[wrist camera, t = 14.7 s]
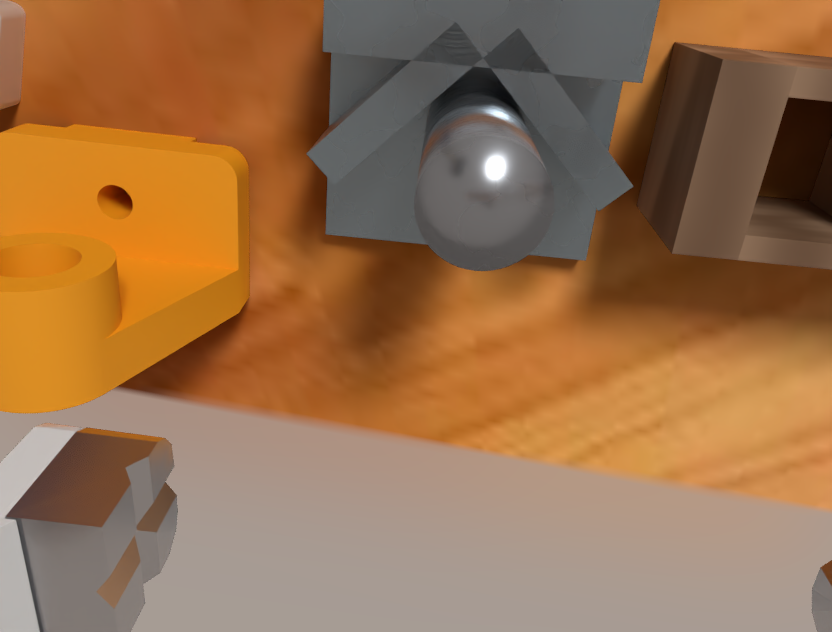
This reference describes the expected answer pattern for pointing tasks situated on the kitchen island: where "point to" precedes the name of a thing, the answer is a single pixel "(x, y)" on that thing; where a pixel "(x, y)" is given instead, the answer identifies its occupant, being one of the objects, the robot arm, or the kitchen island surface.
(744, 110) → the walnut beam
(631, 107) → the kitchen island surface
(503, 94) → the steel axle
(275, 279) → the kitchen island surface
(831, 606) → the robot arm
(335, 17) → the V-block
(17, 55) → the multiport hub
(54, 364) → the bracket
